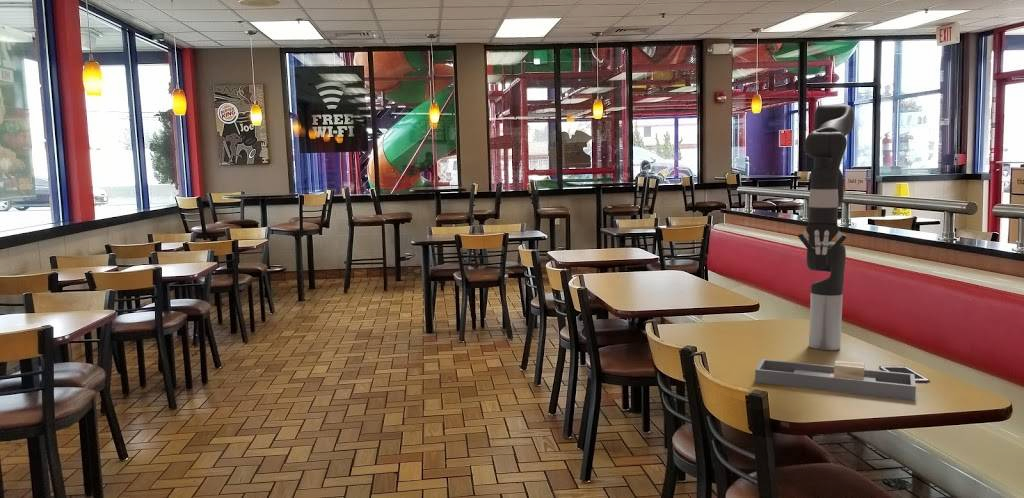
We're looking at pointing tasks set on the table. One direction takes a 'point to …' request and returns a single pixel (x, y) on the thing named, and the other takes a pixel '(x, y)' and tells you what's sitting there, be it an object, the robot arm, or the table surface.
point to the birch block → (849, 370)
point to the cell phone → (905, 369)
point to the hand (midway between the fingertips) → (820, 267)
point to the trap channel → (836, 379)
